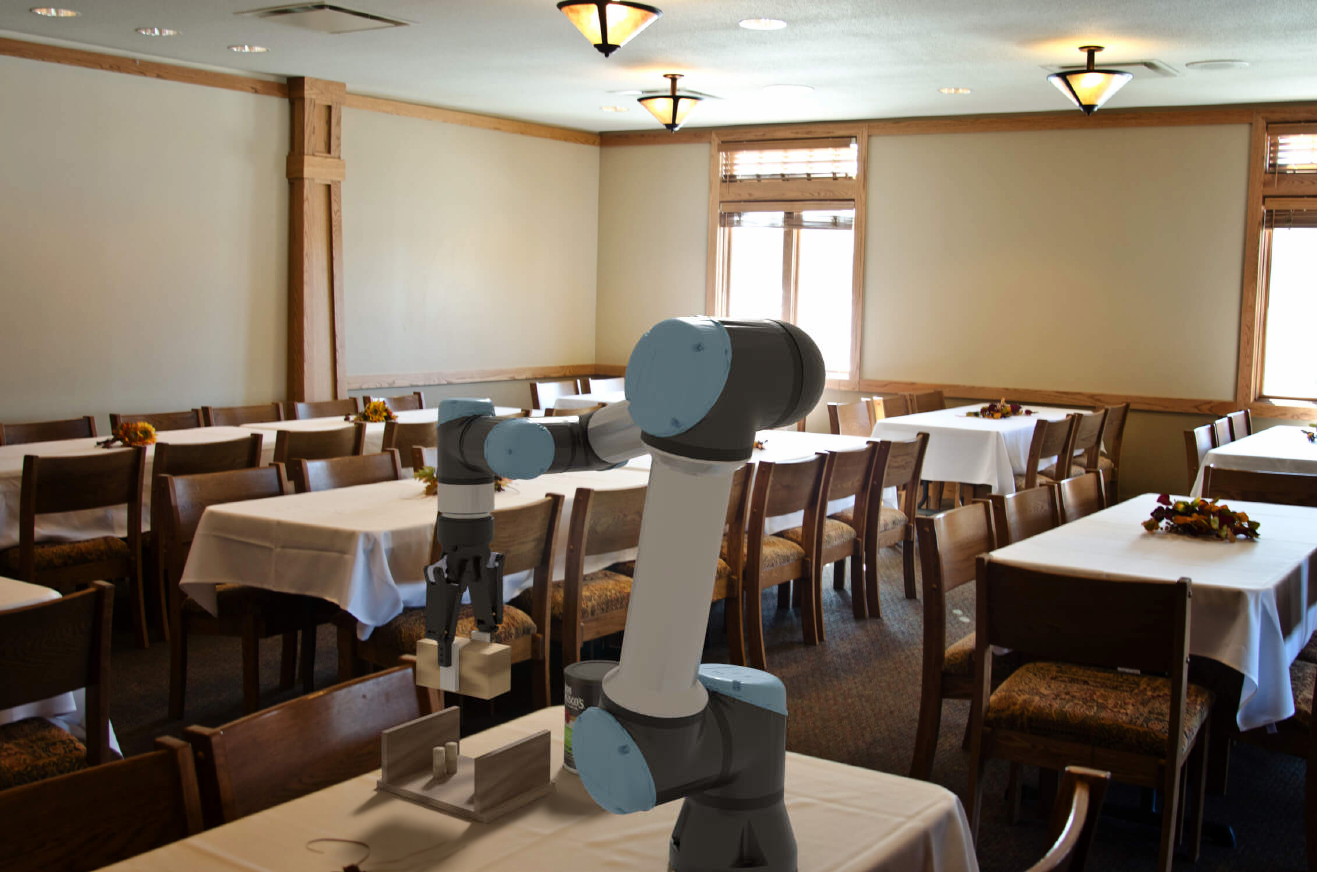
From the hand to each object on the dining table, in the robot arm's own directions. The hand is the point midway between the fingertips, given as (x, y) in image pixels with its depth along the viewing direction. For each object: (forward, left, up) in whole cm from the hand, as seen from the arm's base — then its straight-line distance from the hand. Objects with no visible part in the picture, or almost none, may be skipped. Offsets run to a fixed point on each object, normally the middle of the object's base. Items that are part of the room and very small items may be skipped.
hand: (465, 683), depth 159 cm
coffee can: (-9, -18, -15) cm, 25 cm away
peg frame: (0, 0, -15) cm, 15 cm away
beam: (0, 0, 0) cm, 1 cm away
